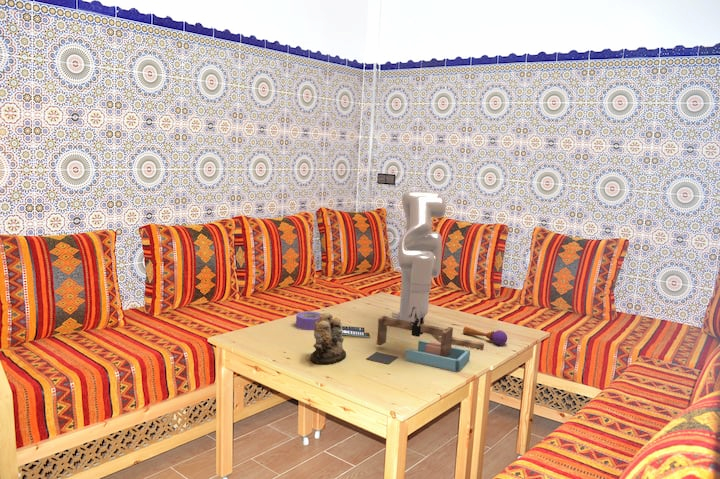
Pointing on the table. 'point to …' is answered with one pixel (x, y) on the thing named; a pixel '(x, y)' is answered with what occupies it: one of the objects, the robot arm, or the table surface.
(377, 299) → the table surface
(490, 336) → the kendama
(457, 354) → the cubby
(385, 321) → the crook rake
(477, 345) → the plain stick
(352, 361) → the table surface
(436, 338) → the plain stick
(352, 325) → the table surface
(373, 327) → the table surface
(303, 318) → the tape roll
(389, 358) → the grey square tile
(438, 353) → the clay-red block
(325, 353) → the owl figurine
